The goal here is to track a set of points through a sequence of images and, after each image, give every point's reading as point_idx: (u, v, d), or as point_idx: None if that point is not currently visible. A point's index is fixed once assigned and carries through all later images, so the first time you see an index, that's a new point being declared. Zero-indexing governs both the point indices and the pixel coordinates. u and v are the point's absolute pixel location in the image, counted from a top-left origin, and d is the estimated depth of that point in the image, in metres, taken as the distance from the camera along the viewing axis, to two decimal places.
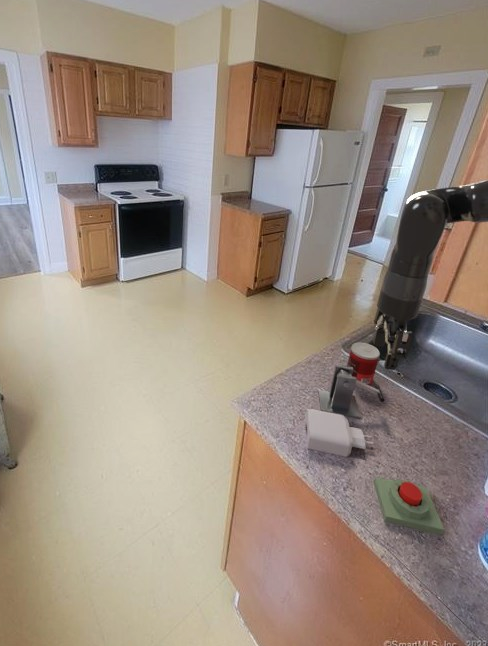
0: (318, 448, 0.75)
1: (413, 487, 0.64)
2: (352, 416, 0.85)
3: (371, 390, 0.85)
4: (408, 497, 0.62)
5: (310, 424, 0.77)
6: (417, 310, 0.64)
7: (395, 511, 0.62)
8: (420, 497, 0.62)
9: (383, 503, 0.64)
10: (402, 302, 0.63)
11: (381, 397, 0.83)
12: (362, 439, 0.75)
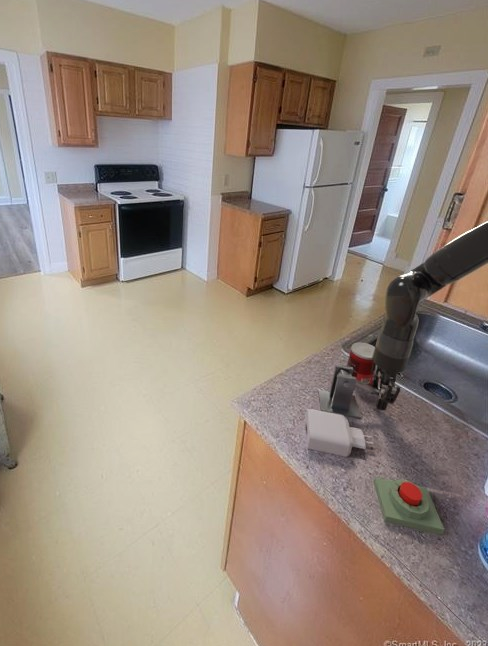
0: (318, 448, 0.75)
1: (413, 487, 0.64)
2: (352, 416, 0.85)
3: (371, 390, 0.85)
4: (408, 497, 0.62)
5: (310, 424, 0.77)
6: (405, 365, 0.78)
7: (395, 511, 0.62)
8: (420, 497, 0.62)
9: (383, 503, 0.64)
10: (392, 359, 0.77)
11: None
12: (362, 439, 0.75)
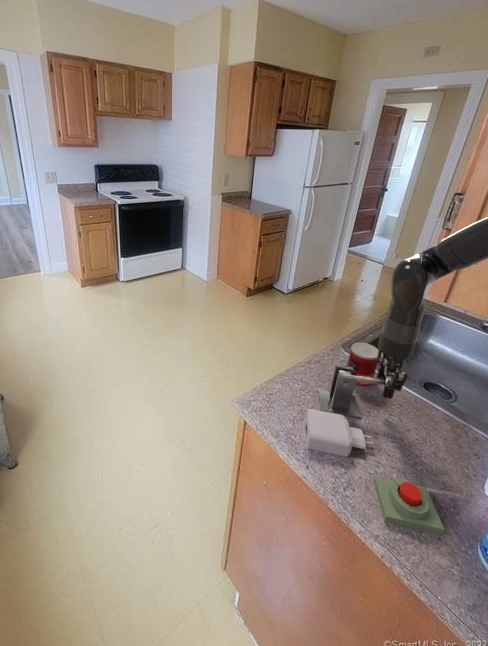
0: (318, 448, 0.75)
1: (413, 487, 0.64)
2: (352, 416, 0.85)
3: (375, 381, 0.83)
4: (408, 497, 0.62)
5: (310, 424, 0.77)
6: (412, 351, 0.76)
7: (395, 511, 0.62)
8: (420, 497, 0.62)
9: (383, 503, 0.64)
10: (399, 345, 0.75)
11: None
12: (362, 439, 0.75)
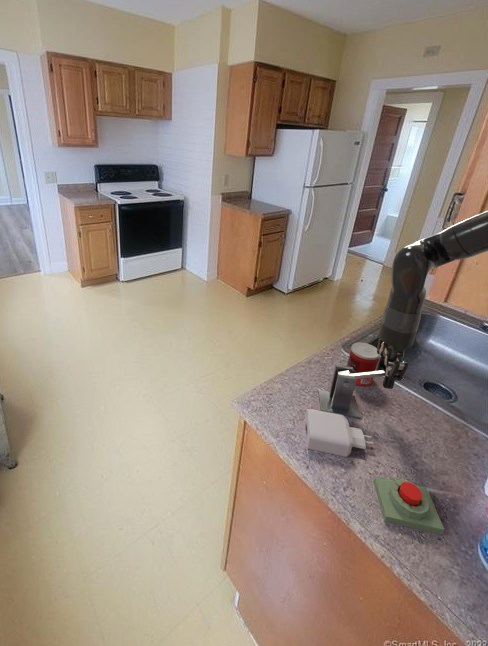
0: (318, 448, 0.75)
1: (413, 487, 0.64)
2: (352, 416, 0.85)
3: (375, 375, 0.83)
4: (408, 497, 0.62)
5: (310, 424, 0.77)
6: (413, 340, 0.75)
7: (395, 511, 0.62)
8: (420, 497, 0.62)
9: (383, 503, 0.64)
10: (400, 334, 0.74)
11: None
12: (362, 439, 0.75)
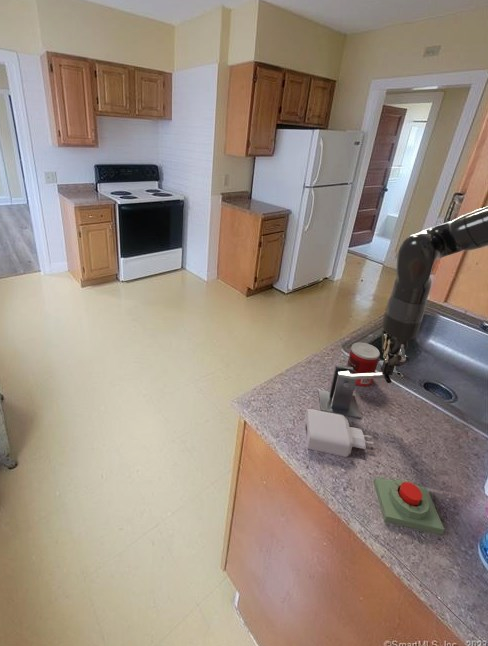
0: (318, 448, 0.75)
1: (413, 487, 0.64)
2: (352, 416, 0.85)
3: (375, 376, 0.83)
4: (408, 497, 0.62)
5: (310, 424, 0.77)
6: (417, 331, 0.74)
7: (395, 511, 0.62)
8: (420, 497, 0.62)
9: (383, 503, 0.64)
10: (404, 324, 0.73)
11: (386, 378, 0.81)
12: (362, 439, 0.75)
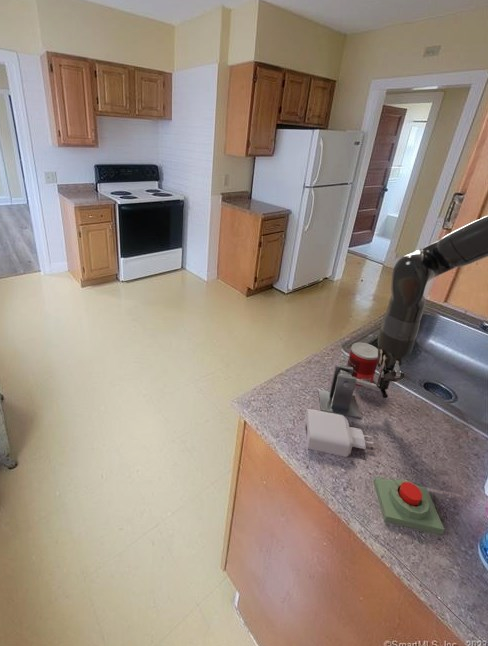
0: (318, 448, 0.75)
1: (413, 487, 0.64)
2: (352, 416, 0.85)
3: (373, 387, 0.84)
4: (408, 497, 0.62)
5: (310, 424, 0.77)
6: (411, 347, 0.76)
7: (395, 511, 0.62)
8: (420, 497, 0.62)
9: (383, 503, 0.64)
10: (399, 341, 0.75)
11: (384, 393, 0.82)
12: (362, 439, 0.75)
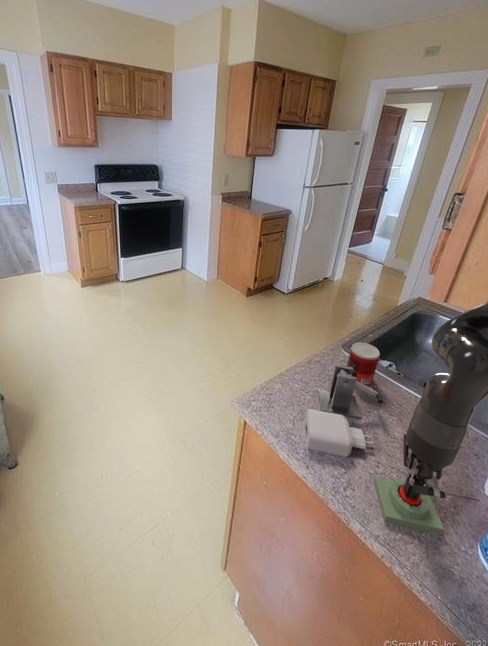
0: (318, 448, 0.75)
1: None
2: (352, 416, 0.85)
3: (370, 391, 0.85)
4: (407, 500, 0.62)
5: (310, 424, 0.77)
6: (455, 456, 0.55)
7: (395, 511, 0.62)
8: (419, 500, 0.62)
9: (383, 503, 0.64)
10: (438, 449, 0.54)
11: (380, 399, 0.83)
12: (362, 439, 0.75)
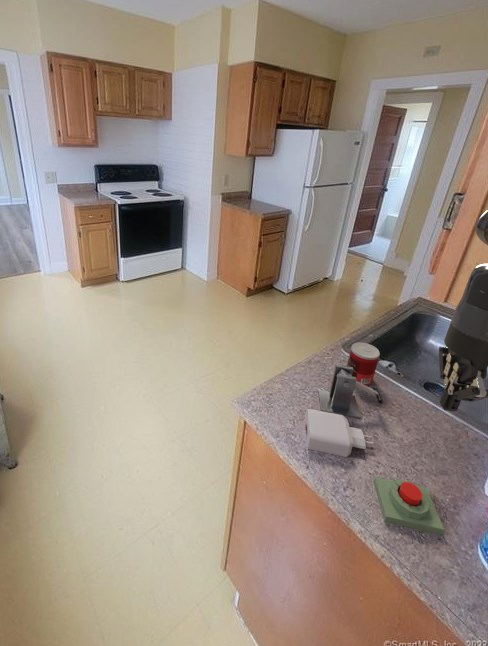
0: (318, 448, 0.75)
1: (413, 487, 0.64)
2: (352, 416, 0.85)
3: (370, 391, 0.85)
4: (408, 497, 0.62)
5: (310, 424, 0.77)
6: None
7: (395, 511, 0.62)
8: (420, 497, 0.62)
9: (383, 503, 0.64)
10: (484, 343, 0.50)
11: (380, 399, 0.83)
12: (362, 439, 0.75)
